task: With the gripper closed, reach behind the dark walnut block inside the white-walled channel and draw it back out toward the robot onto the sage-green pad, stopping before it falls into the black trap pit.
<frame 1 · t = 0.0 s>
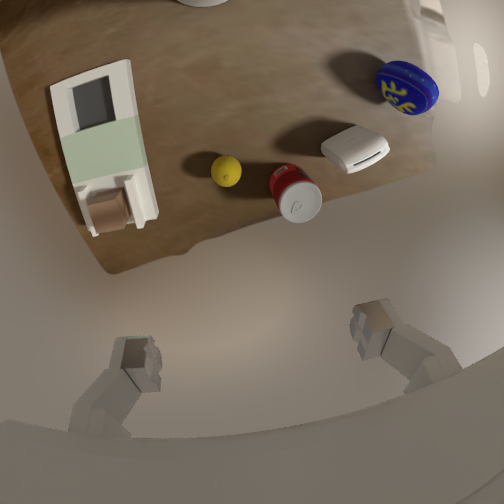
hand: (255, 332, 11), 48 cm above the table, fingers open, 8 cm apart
walnut block: (114, 203, 53), point 3 cm above the table, touching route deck
white rounded block: (341, 140, 55), on the table
canned food: (286, 180, 59), on the table
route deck: (105, 147, 49), on the table
lemon: (225, 164, 55), on the table
ornament: (388, 83, 48), on the table
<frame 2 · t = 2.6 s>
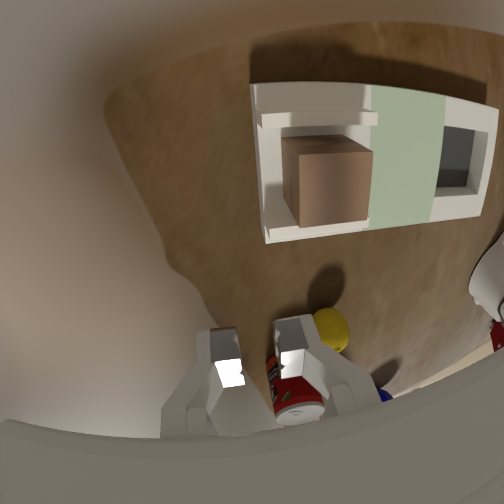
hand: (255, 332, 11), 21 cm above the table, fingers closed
walnut block: (313, 165, 27), point 3 cm above the table, touching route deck
canned food: (287, 360, 49), on the table
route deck: (393, 153, 30), on the table
lemon: (320, 309, 42), on the table
alarm clock: (499, 313, 57), on the table
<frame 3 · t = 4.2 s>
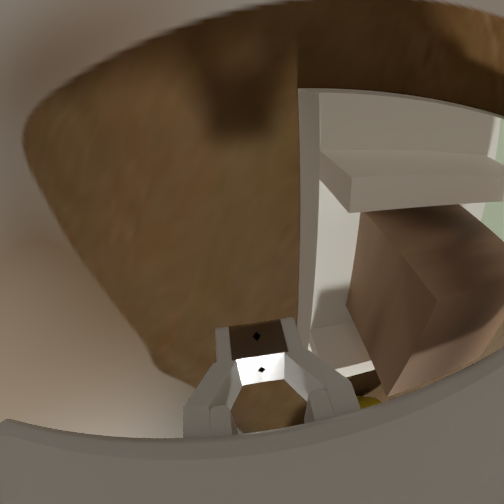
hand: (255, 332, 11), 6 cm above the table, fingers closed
walnut block: (402, 254, 14), point 3 cm above the table, touching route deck
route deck: (488, 214, 17), on the table
lemon: (356, 394, 30), on the table
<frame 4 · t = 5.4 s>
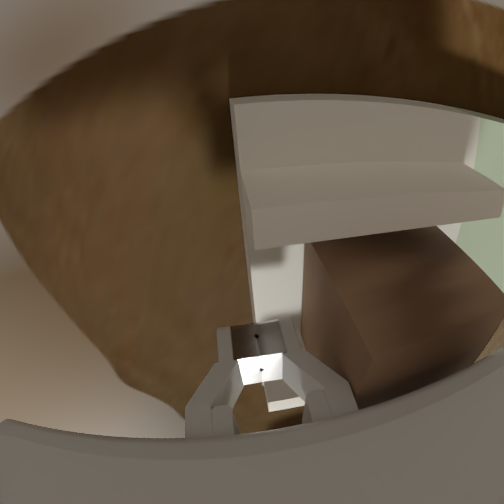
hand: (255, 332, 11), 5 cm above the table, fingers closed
walnut block: (363, 279, 13), point 3 cm above the table, touching gripper
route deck: (471, 225, 16), on the table
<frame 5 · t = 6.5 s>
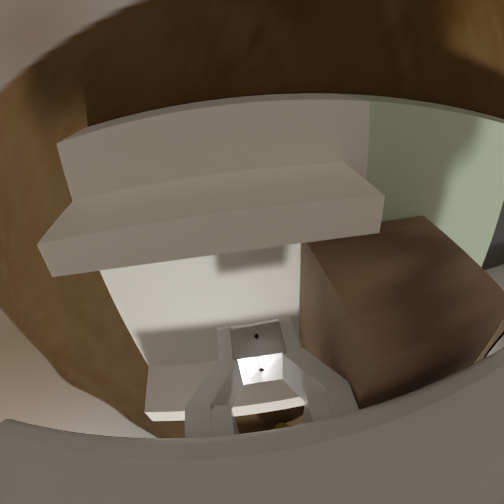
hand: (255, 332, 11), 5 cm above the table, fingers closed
walnut block: (361, 280, 13), point 3 cm above the table, touching gripper
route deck: (406, 235, 16), on the table
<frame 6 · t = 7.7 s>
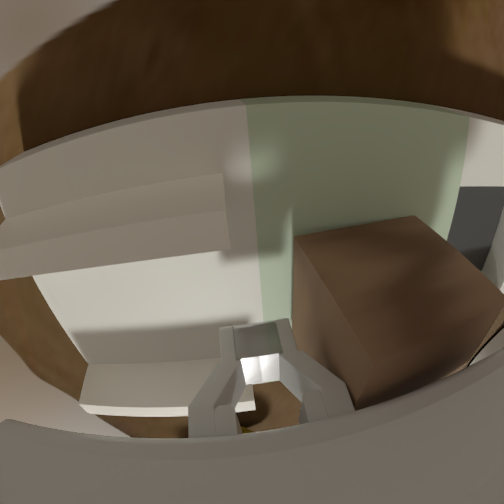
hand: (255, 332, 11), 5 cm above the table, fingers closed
walnut block: (353, 281, 13), point 3 cm above the table, tilted 6°, touching gripper, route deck
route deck: (342, 243, 16), on the table
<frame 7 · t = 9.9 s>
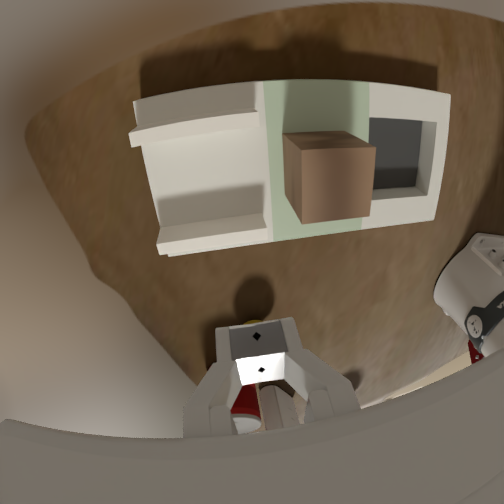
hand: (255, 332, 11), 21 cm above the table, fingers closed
walnut block: (314, 162, 26), point 3 cm above the table, touching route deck
white rounded block: (276, 393, 55), on the table
canned food: (229, 369, 48), on the table
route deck: (311, 154, 29), on the table
alarm clock: (478, 322, 56), on the table
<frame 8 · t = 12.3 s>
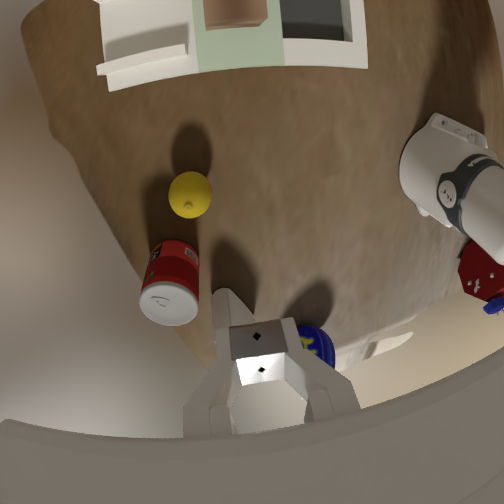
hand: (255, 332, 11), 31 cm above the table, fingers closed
walnut block: (230, 6, 24), point 3 cm above the table, touching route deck
white rounded block: (233, 304, 53), on the table
canned food: (175, 257, 46), on the table
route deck: (234, 12, 27), on the table
lemon: (192, 182, 40), on the table
alarm clock: (467, 248, 54), on the table
ornament: (300, 332, 60), on the table
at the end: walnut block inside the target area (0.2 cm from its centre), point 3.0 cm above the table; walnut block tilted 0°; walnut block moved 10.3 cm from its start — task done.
